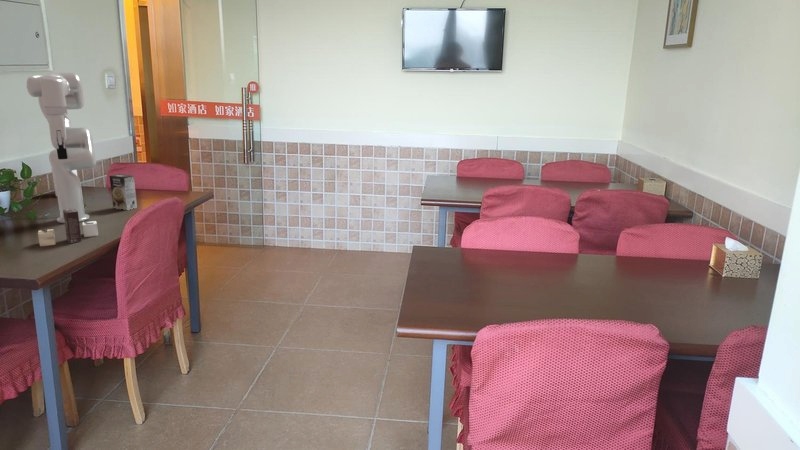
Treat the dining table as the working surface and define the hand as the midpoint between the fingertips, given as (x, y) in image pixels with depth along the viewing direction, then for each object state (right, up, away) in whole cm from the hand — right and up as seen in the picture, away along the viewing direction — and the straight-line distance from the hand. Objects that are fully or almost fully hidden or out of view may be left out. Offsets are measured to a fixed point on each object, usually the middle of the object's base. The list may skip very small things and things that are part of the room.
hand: (63, 158), depth 226 cm
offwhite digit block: (+7, -30, +8) cm, 32 cm away
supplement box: (-44, -10, +80) cm, 92 cm away
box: (+5, -32, 0) cm, 32 cm away
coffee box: (0, -18, +51) cm, 54 cm away
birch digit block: (-3, -33, -4) cm, 34 cm away
